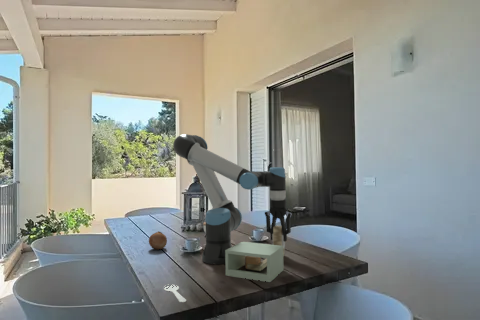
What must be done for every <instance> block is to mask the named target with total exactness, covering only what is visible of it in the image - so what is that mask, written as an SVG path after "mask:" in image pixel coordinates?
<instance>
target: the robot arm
mask: <svg viewBox="0 0 480 320" xmlns="http://www.w3.org/2000/svg"><path fill="white" fill-rule="evenodd" d="M172 146H173V150H174V152H175V154H176V155H177V156H179V157H180V158H183V159H185V160H186V161H187V164H188V165H190V166H193V169H194V171H195V173H196V175H197V177H198V179H199V182H200V183H201V185H202V188H203V190H204V192H205V194H206V196H207V198H208V200H209V202H210V204H211V206H212V208H211V209H208V210H207V211H206V212H205V218H204V220H205V221H204V222H206V233H205V246H204V250H203V252H202V262H204V263H205V264H209V265H224V264H225V250H227V249H229V248H231V247H233V245H232V241H231V237H232V235H231V234H232V233H231V232H232V231H235V230H237V229H238V228H239V227H240V226H241V223H242V219H243V216H242V212H241V211H240V210H239V209H238V208H237V207H236V206H235V205H234V203H233V201H232V200H229V199H228V197H227V195H226V193H225V191H224V189H223V187H222V185H221V183H220V181H219V178H218V177H217V175H216V173H217V174H219V175H221V176H223V177H225V178H227V179H229V180H231V181H233V182H234V183H236V184H238V185H240V186H241V188H243V189H244V190H250V191H251V190H253V189H255V188H256V189H257V188H261V187H262V188H263V187H264V188H267V187H269V198H270V200H269V203H270V205H269V207H270V208H269V210H268V211H265V212H264V215H265V224H266V226H265V227H266V232H267V233H269V234H270V241H272V244H271V245H274V242H273V227H274V226H277V225H276V223H277V220H279V222H280V226H281V227H282V231H283V234H282V246H283V249H284V250H285V248H286V242H287V241H288V236H287V235H289V234H290V233H291V230H292V229H291V228H292V225H291V223H292V215H293V212H289V211H288V210H287V200H286V198H287V196H286V195H287V193H286V188H287V187H286V178H287V176H286V170H285V168H284V167H282V166H281V167H280V166H279V167H278V166H277V167H276V166H275V167H274V166H273V167H270V168H269V170H268V171H251V170H248V169H246V168H245V167H243V166H241V165H238V164H236V163H234V162H232V161H231V160H228V159H227V158H224V157H222V156H220V155H218V154H216V153H214V152H212V151H210V150H208V147H209V146H208V143H207V141H206V140H205V139H204V137H201V136H199V135H195V134H194V135H193V134H188V133H187V134H186V133H183V134H180V135H178V136H177V137H176V138H175V139H174V141H173V145H172ZM215 172H216V173H215ZM271 216H272V219H271ZM285 216H286V222H285Z"/></svg>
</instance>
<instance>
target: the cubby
mask: <svg viewBox="0 0 480 320" xmlns="http://www.w3.org/2000/svg"><path fill="white" fill-rule="evenodd" d="M246 256H252V257H260V258H262V259H266V258H267V267H266V273H262V272H255V271H246V270H241V269H240V268H242V267H244V266H246V264H245V257H246ZM239 269H240V270H239ZM283 271H284V256H283V246H280V245H272V244H267V243H259V242H250V241H241V242H238V243H237V244H235V245H232V247H231V248H229V249H227V250H225V276H228V277H233V278H240V279H241V278H242V279H245V278H246V279H247V280H252V279H253V280H254V281H258V280H260V281H259V282H265V281H266V283H271V282H272V281H273V280H274V279H275V278H276V277H277V276H278V274H279V275H280V274H281V273H282V272H283ZM246 279H245V280H246ZM253 280H252V281H253Z"/></svg>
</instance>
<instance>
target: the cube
mask: <svg viewBox="0 0 480 320" xmlns="http://www.w3.org/2000/svg"><path fill="white" fill-rule="evenodd" d="M261 262H262V259H261V258H260V257H252V256H245V269H247V264H257V265H258V264H259V263H261ZM247 270H248V269H247Z"/></svg>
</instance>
